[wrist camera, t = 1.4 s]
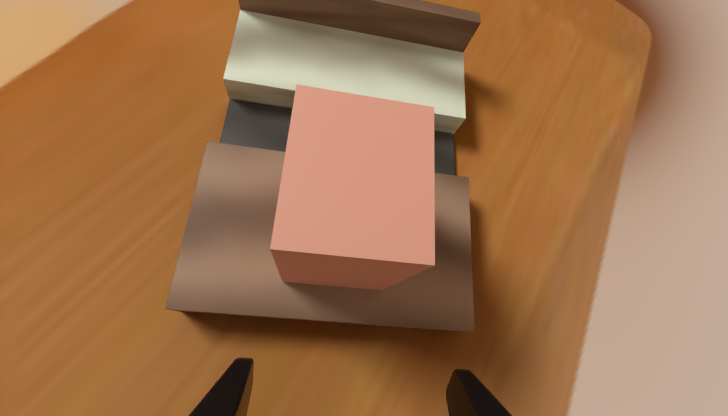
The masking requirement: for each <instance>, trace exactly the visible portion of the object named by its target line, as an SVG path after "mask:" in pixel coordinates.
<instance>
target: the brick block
mask: <svg viewBox="0 0 728 416" xmlns="http://www.w3.org/2000/svg"><path fill="white" fill-rule="evenodd" d="M270 251H271V253H272V256H273V258H274V261H275V264H276V266H277V269H278V271H279V274H280V277H281V279H282V282H290V283H302V284H313V285H325V286H336V287H348V288H359V289H371V290H384V289H386V288H388V287H390V286H392V285H395V284H397V283H399V282H401V281H403V280H405V279H407V278H409V277H412V276H414V275H416V274H418V273H420V272H422V271H424V270H426V269H429V268H431V267H433V266H435V169H434V107H430V106H424V105H418V104H412V103H406V102H400V101H394V100H388V99H382V98H376V97H370V96H364V95H358V94H352V93H346V92H340V91H334V90H328V89H322V88H316V87H310V86H304V85H298V84H296V90H295V96H294V102H293V108H292V115H291V121H290V127H289V133H288V139H287V146H286V152H285V158H284V164H283V171H282V177H281V183H280V189H279V195H278V202H277V208H276V214H275V220H274V227H273V233H272V239H271V245H270Z"/></svg>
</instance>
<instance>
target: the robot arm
mask: <svg viewBox="0 0 728 416" xmlns="http://www.w3.org/2000/svg"><path fill="white" fill-rule="evenodd" d="M253 364H254V361H253V359H252V358H237V359H235V360H234V362H233V363H232V364H231V365H230V366H229V368H228V369H227V370H226V371H225V373H224V374H223V375H222V376H221V377H220V379H219V380H218V381H217V382H216V383H215V385H214V386H213V387H212V388H211V389H210V391H209V392H208V393H207V394H206V395H205V397H204V398H203V399H202V400H201V402H200V403H199V404H198V405H197V406H196V408H195V409H194V410H193V411H192V412H191V414H190V415H189V416H246V415H247V410H248V405H249V400H250V395H251V390H252V383H253ZM446 399H447V405H448V411H449V416H512V415H511V414H510V413H509V412H508V411H507V410H506V409H505V408H504V407H503V405H502V404H501V403H500V402H499V401H498V400H497V399H496V398H495V397H494V396H493V395H492V394H491V392H490V391H489V390H488V389H487V388H486V387H485V386H484V385H483V384H482V383H481V382H480V381H479V379H478V378H477V377H476V376H475V375H474V374H473V373H472V372H471V371H469V370H465V369H456V370H454V372H453V374H452V376H451V379H450V381H449V384H448V386H447V390H446Z"/></svg>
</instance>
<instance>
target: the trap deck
mask: <svg viewBox="0 0 728 416" xmlns="http://www.w3.org/2000/svg"><path fill="white" fill-rule="evenodd" d="M239 4H240V9H241V10H240V14H239V18H238V22H237V26H236V30H235V34H234V38H233V42H232V46H231V50H230V54H229V58H228V62H227V66H226V70H225V74H224V78H223V80H224V83H225V86H226V89H227V93H228V96H229V99H230V101H229V106H228V110H227V114H226V118H225V123H224V127H223V131H222V135H221V139H220V143H217V142H210V141H207V145H206V149H205V153H204V157H203V161H202V165H201V169H200V173H199V177H198V181H197V185H196V189H195V193H194V197H193V201H192V205H191V209H190V213H189V217H188V221H187V225H186V229H185V233H184V237H183V241H182V245H181V249H180V253H179V257H178V261H177V265H176V269H175V273H174V277H173V281H172V285H171V289H170V293H169V297H168V301H167V305H166V309H168V310H175V311H183V312H197V313H211V314H225V315H239V316H253V317H267V318H280V319H294V320H308V321H322V322H336V323H350V324H364V325H377V326H391V327H405V328H419V329H433V330H447V331H469V332H475V320H474V296H473V273H472V249H471V226H470V202H469V178H468V177H462V176H455V169H454V133H455V132H456V131H457V129H458V128H459V127H460V125H461V124H462V123H463V122H464V120H465V119H466V108H465V84H464V61H463V52H464V50H465V48H466V47H467V45H468V43H469V42H470V40H471V38H472V37H473V35H474V33H475V31H476V30H477V28H478V26H479V25H480V23H481V22H480V13H478V12H473V11H468V10H464V9H459V8H454V7H449V6H445V5H440V4H435V3H430V2H426V1H421V0H239ZM296 84H298V85H304V86H310V87H316V88H322V89H328V90H334V91H340V92H346V93H352V94H358V95H364V96H370V97H376V98H382V99H388V100H394V101H400V102H406V103H412V104H418V105H424V106H430V107H434V169H435V266H433V267H431V268H429V269H426V270H424V271H422V272H420V273H418V274H416V275H414V276H412V277H409V278H407V279H405V280H403V281H401V282H399V283H397V284H395V285H392V286H390V287H388V288H386V289H384V290H371V289H359V288H348V287H336V286H325V285H313V284H302V283H290V282H282V279H281V277H280V274H279V271H278V269H277V266H276V264H275V261H274V258H273V256H272V253H271V251H270V245H271V239H272V233H273V227H274V220H275V214H276V208H277V202H278V195H279V189H280V183H281V177H282V171H283V164H284V158H285V152H286V146H287V139H288V133H289V127H290V121H291V115H292V108H293V102H294V96H295V90H296Z"/></svg>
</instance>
